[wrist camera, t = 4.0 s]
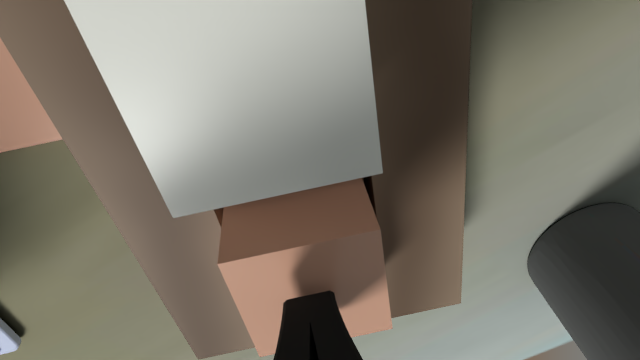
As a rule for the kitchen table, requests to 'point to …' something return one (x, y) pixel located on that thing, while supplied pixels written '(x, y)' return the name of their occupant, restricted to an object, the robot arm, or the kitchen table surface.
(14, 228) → the kitchen table surface
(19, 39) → the brown wooden tray
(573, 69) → the kitchen table surface
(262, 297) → the salmon cube
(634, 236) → the bottle
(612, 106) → the kitchen table surface
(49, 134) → the tile
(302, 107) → the white cube
